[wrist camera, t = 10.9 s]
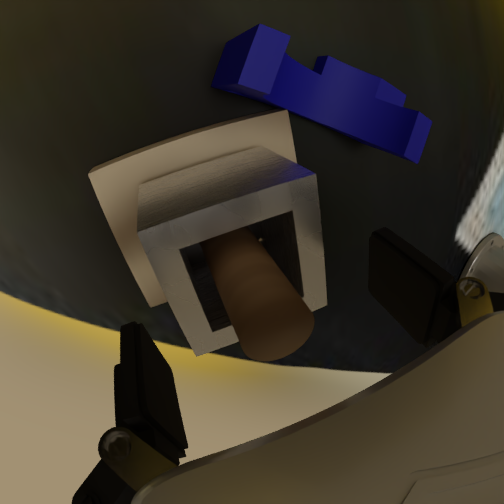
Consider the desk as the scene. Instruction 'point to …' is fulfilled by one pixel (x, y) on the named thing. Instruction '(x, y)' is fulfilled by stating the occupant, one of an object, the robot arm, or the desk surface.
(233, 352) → the desk surface
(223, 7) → the desk surface
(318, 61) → the cable clip
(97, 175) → the post board
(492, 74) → the desk surface
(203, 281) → the sleeve
